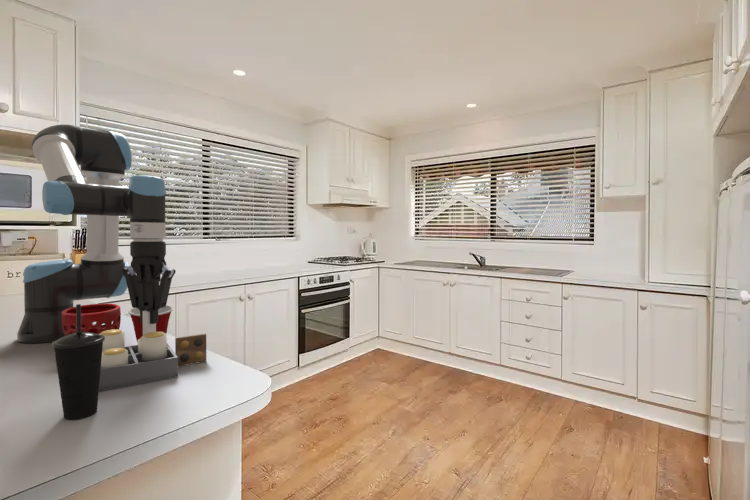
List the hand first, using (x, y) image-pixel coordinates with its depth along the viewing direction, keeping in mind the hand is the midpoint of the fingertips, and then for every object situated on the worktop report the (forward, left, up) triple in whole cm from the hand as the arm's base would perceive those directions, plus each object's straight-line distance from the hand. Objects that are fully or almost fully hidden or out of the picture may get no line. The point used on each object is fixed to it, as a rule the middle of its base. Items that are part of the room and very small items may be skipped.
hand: (149, 336), depth 98 cm
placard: (+4, +9, -7) cm, 12 cm away
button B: (0, 0, -6) cm, 6 cm away
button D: (+8, 0, -3) cm, 8 cm away
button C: (+8, -8, -6) cm, 12 cm away
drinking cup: (+22, -14, -8) cm, 27 cm away
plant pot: (-22, -11, -8) cm, 26 cm away
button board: (+4, -4, -7) cm, 9 cm away
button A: (0, -8, -3) cm, 8 cm away
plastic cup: (-13, +2, -8) cm, 15 cm away
